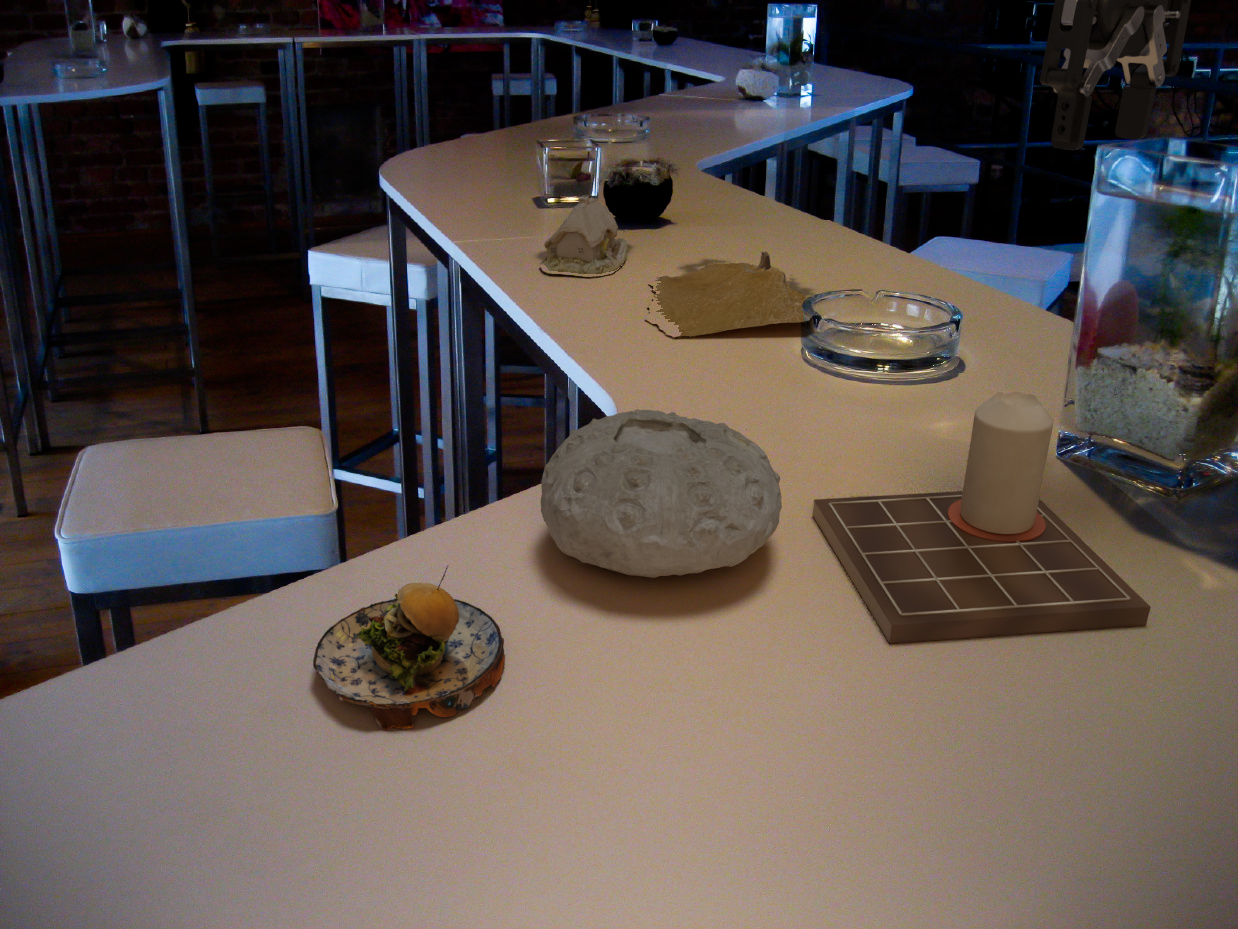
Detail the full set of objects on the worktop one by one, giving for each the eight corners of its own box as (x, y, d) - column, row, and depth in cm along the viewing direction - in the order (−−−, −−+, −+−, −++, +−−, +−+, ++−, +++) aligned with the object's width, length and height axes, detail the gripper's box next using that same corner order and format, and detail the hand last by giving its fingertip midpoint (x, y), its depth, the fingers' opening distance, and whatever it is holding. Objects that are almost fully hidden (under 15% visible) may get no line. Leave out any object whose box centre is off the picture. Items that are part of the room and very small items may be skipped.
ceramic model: (600, 282, 148) (600, 209, 144) (528, 273, 152) (525, 201, 148) (639, 258, 160) (640, 189, 156) (571, 250, 164) (570, 183, 160)
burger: (365, 607, 75) (354, 512, 72) (528, 628, 73) (524, 531, 70) (279, 715, 65) (262, 609, 61) (467, 744, 62) (459, 635, 59)
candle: (1008, 542, 80) (1030, 417, 76) (945, 515, 84) (962, 395, 80) (1048, 520, 83) (1072, 399, 79) (986, 495, 87) (1005, 378, 83)
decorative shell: (705, 480, 93) (709, 370, 89) (826, 579, 79) (838, 453, 74) (509, 523, 86) (503, 406, 82) (601, 640, 72) (600, 505, 67)
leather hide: (676, 274, 156) (673, 241, 153) (859, 282, 144) (859, 246, 142) (586, 358, 134) (581, 321, 131) (794, 375, 122) (791, 334, 120)
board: (1024, 503, 89) (1028, 485, 89) (1146, 625, 73) (1151, 605, 73) (812, 515, 87) (813, 497, 87) (889, 644, 71) (892, 623, 71)
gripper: (1140, -106, 68) (1091, 160, 75) (1250, -100, 75) (1196, 140, 82) (1034, -102, 73) (998, 146, 80) (1147, -97, 81) (1105, 128, 88)
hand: (1099, 143), depth 81 cm, fingers open, 8 cm apart
